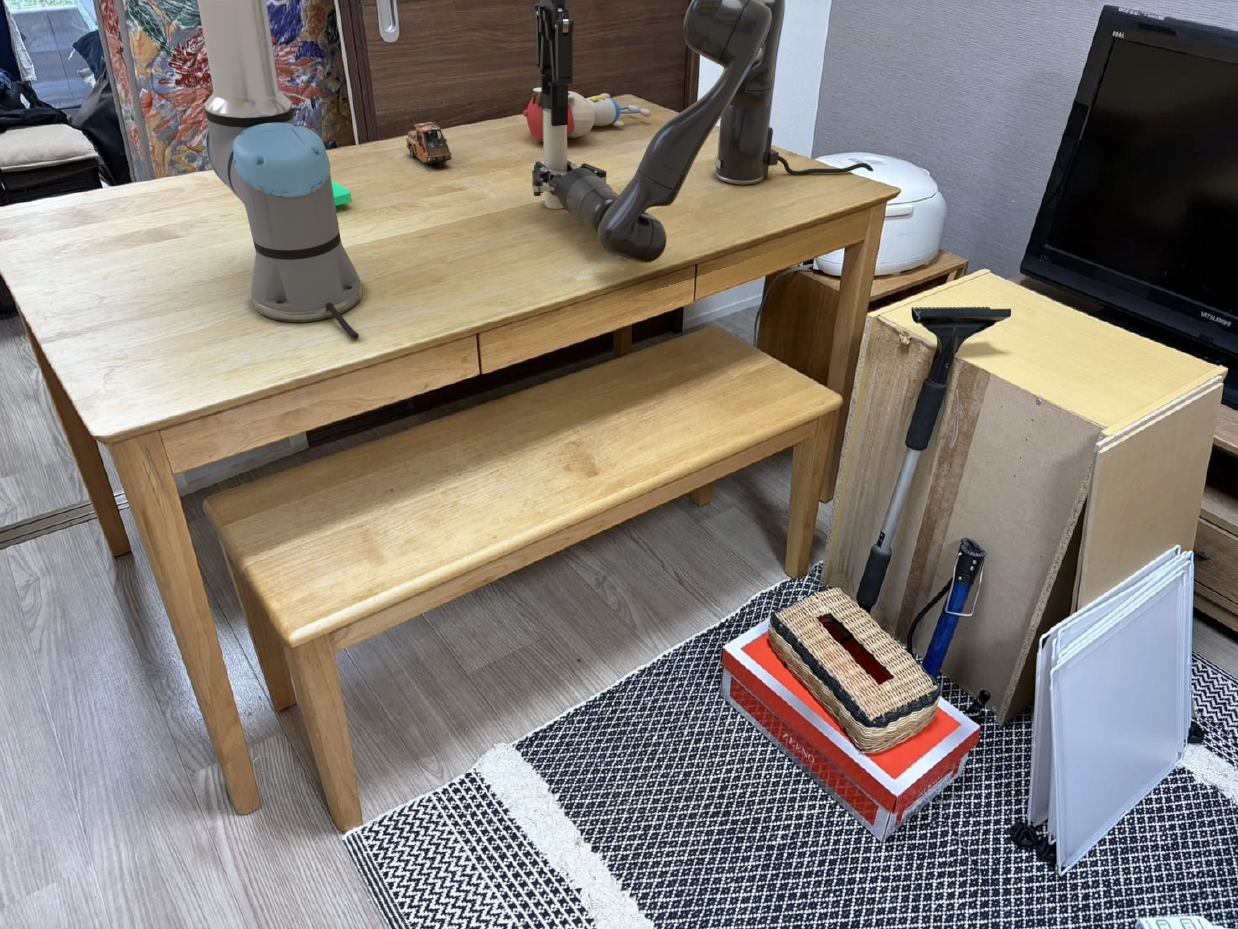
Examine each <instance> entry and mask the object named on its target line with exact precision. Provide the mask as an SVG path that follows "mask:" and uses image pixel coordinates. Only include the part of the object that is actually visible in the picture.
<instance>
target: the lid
mask: <svg viewBox="0 0 1238 929" xmlns="http://www.w3.org/2000/svg"><path fill="white" fill-rule="evenodd" d="M541 107H543V108H545V109H551V88H546V89H543V90H541Z"/></svg>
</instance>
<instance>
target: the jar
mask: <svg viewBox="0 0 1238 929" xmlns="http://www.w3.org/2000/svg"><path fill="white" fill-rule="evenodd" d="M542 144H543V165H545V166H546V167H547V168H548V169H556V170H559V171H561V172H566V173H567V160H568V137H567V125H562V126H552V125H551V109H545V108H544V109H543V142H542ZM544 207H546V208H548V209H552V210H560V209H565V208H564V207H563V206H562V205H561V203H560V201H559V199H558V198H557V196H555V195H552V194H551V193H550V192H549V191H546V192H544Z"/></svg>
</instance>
